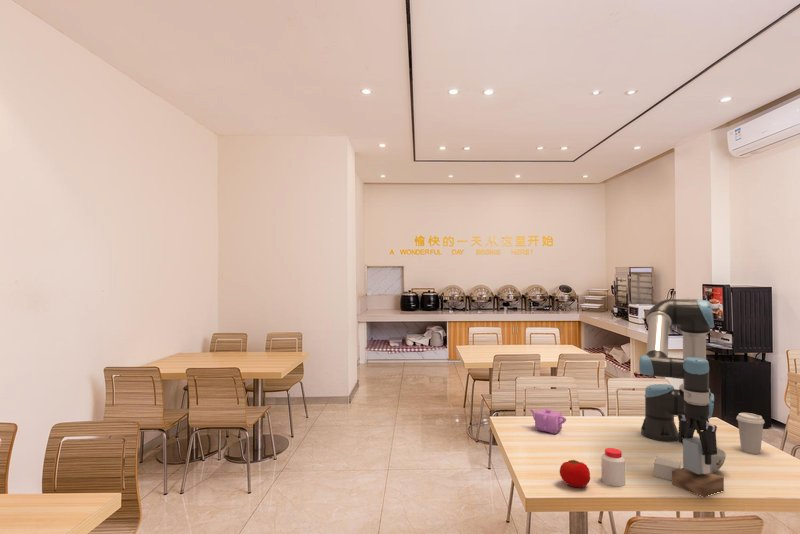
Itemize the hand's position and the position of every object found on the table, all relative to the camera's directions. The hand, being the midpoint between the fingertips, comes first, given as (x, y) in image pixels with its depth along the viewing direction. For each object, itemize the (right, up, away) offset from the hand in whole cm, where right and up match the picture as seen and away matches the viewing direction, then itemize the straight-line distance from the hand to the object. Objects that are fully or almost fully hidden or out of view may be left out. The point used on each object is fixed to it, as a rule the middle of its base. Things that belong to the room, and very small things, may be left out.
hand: (697, 468), depth 160 cm
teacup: (+12, -7, +15) cm, 21 cm away
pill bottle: (-27, -7, +4) cm, 28 cm away
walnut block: (0, -7, 0) cm, 7 cm away
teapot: (-33, -8, +60) cm, 69 cm away
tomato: (-42, -6, +1) cm, 43 cm away
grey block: (-5, -7, +10) cm, 13 cm away
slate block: (0, 0, 0) cm, 0 cm away
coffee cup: (+45, -8, +34) cm, 56 cm away
